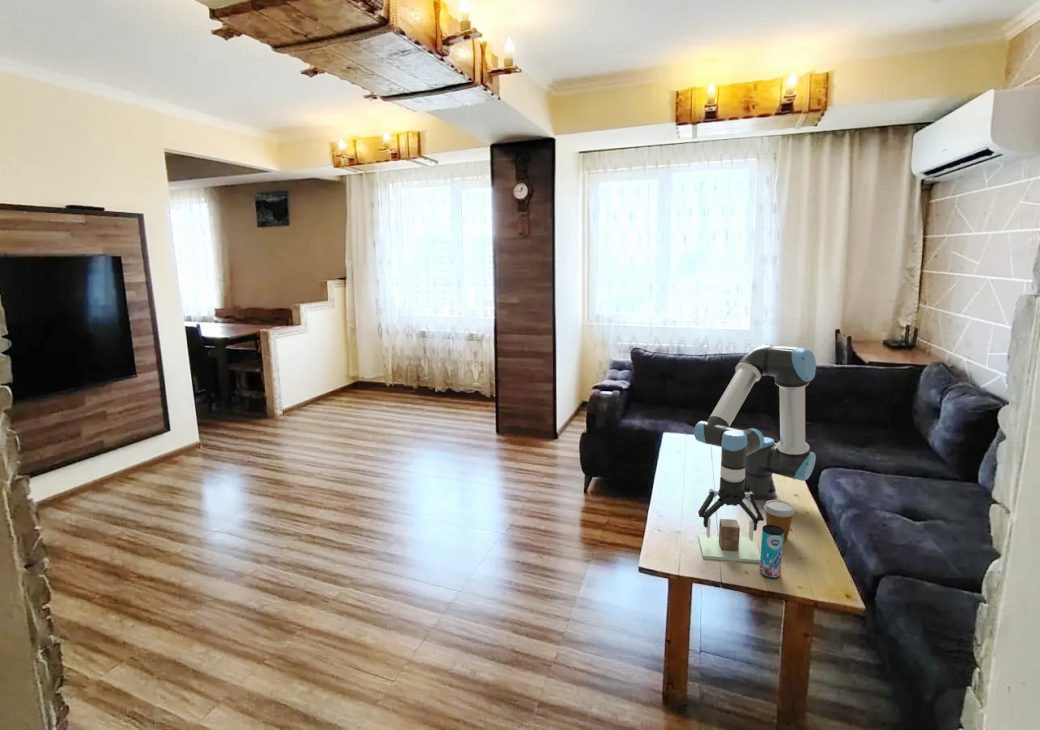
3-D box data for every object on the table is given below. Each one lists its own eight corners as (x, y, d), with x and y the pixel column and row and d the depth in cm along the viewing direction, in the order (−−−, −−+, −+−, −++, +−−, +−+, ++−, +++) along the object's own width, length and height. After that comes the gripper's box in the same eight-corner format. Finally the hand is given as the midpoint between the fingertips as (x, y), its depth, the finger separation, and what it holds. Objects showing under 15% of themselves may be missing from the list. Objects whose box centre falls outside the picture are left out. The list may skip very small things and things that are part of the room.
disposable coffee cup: (790, 547, 182) (793, 514, 179) (760, 539, 187) (762, 507, 184) (793, 534, 189) (796, 503, 187) (764, 528, 194) (766, 497, 192)
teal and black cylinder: (762, 578, 164) (765, 533, 161) (757, 567, 170) (760, 524, 167) (783, 580, 163) (786, 534, 160) (777, 569, 169) (780, 525, 166)
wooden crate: (735, 543, 183) (736, 519, 181) (738, 551, 178) (739, 527, 176) (718, 542, 184) (719, 518, 182) (721, 550, 179) (722, 526, 177)
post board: (752, 541, 186) (753, 522, 185) (761, 563, 172) (763, 543, 171) (697, 537, 189) (698, 518, 188) (703, 558, 176) (704, 538, 175)
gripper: (770, 475, 177) (766, 534, 181) (691, 471, 182) (689, 529, 186) (776, 484, 170) (771, 546, 174) (694, 480, 175) (691, 540, 179)
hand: (729, 537), depth 180 cm, fingers open, 13 cm apart
